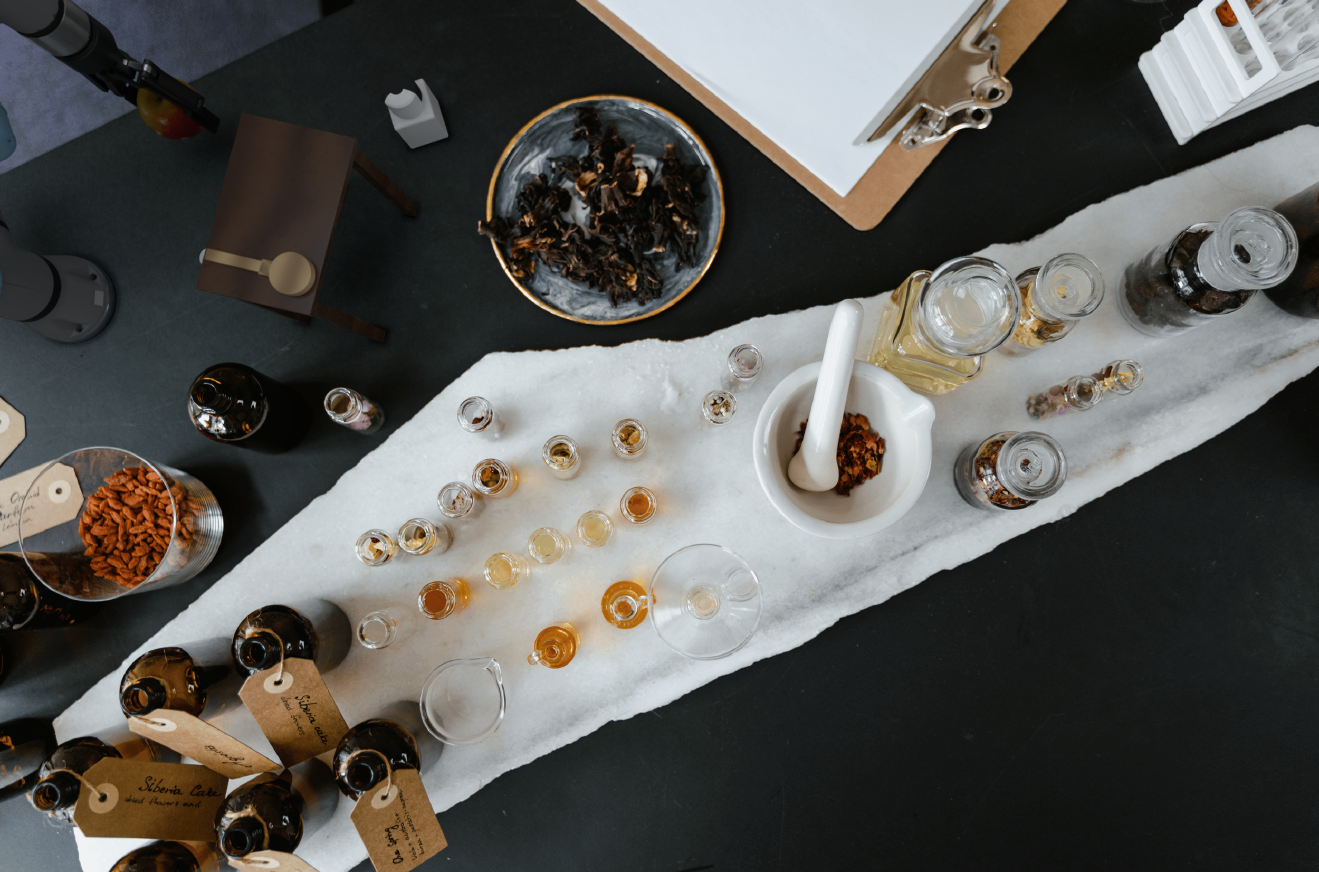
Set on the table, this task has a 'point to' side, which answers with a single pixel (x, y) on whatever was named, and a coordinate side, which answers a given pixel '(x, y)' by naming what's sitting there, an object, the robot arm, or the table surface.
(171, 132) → the fruit
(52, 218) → the table surface
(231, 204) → the dark wooden stool
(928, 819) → the table surface
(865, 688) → the table surface
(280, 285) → the wooden paddle
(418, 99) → the gray notched block
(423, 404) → the table surface
